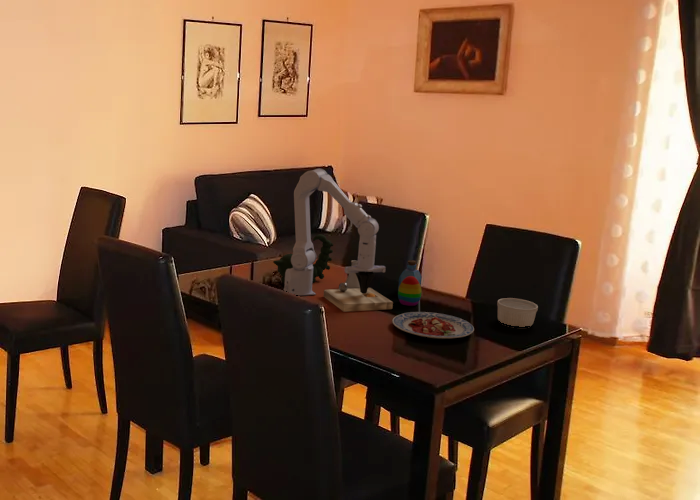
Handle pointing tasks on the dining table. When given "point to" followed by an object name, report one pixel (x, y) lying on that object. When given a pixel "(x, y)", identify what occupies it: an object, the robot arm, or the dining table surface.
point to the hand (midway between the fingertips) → (363, 292)
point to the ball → (343, 286)
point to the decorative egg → (409, 291)
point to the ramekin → (516, 312)
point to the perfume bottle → (410, 272)
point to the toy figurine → (317, 267)
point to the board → (357, 300)
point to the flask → (352, 278)
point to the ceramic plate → (433, 325)
